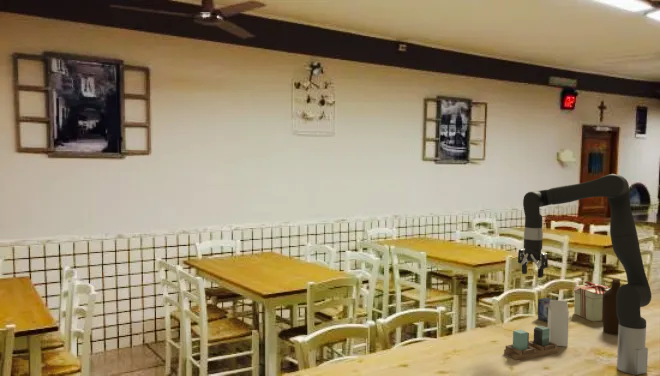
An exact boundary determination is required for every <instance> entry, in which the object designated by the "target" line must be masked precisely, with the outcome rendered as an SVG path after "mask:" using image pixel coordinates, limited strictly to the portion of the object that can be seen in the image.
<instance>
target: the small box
mask: <svg viewBox="0 0 660 376" xmlns="http://www.w3.org/2000/svg"><path fill="white" fill-rule="evenodd" d="M537 299H538V301H537V304H538V305H537V320H540V321H542V320H543V322H545V321H546V323H548V306H549V303H550V300H554V298H549V297H542V298H537Z"/></svg>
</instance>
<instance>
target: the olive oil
mask: <svg viewBox="0 0 660 376" xmlns="http://www.w3.org/2000/svg"><path fill="white" fill-rule="evenodd" d="M620 286H621V279H620V278H612V281H611V287H609V288H610V289H609V290H607V291H606V292H605V294H604V296H603V321H602V331H603V332H604V333H606V334H609V335H613V336H618V326H619V320H618V317H617V311H616V296H617V291H618V289H619V287H620Z"/></svg>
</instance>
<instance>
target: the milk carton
mask: <svg viewBox="0 0 660 376" xmlns="http://www.w3.org/2000/svg"><path fill="white" fill-rule="evenodd" d="M569 313H570V312H569V306H568V300H557V299H553V300H550V303H549V306H548V322H547V328H550V330H549V342H552V343H554V344H557V347H566V348H567V347H569V345H568V344H569V317H570V314H569Z"/></svg>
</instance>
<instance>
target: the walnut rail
mask: <svg viewBox="0 0 660 376" xmlns="http://www.w3.org/2000/svg"><path fill="white" fill-rule="evenodd" d="M549 330H550V328H548V326H544V325H538V326H535V327H534V328H533V339H532V340H529V348H527V349H526V350H521V351H520V350H518V349H515V348H513V343H512V344H508V345H505V349H504V350H503V355H505V356H507V357H510V358H512V359H514V360H516V361H524V359H525V360H528V359H532V358H538V357H542V356H543V357H544V356H548V355H552V353H553V354H556V353H557V352H558V353H559V347H558V346H557V344H554V343H552V342H549ZM558 353H557V354H558Z"/></svg>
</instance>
